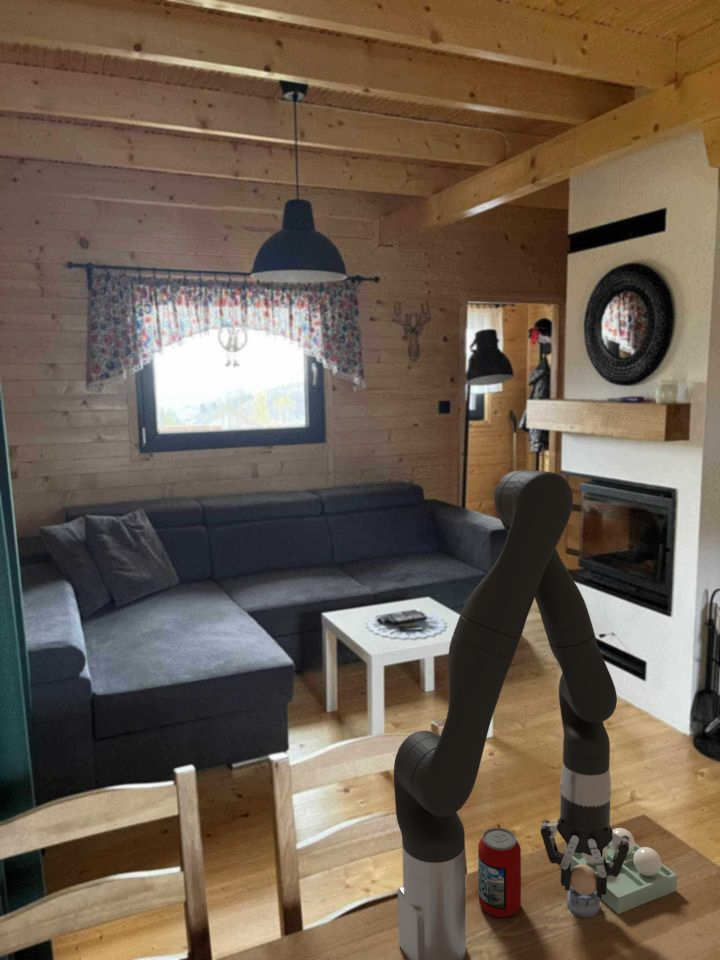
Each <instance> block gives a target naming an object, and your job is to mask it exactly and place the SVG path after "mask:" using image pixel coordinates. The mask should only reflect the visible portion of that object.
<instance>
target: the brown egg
mask: <svg viewBox="0 0 720 960" xmlns="http://www.w3.org/2000/svg"><path fill="white" fill-rule="evenodd" d="M570 883H571V885H570V887H572V888H573V889H574V890H575V891H576V892H577V893H579V894H581V895H591V894H592V893H594V892H595V891H596V889H597V874H596V873H595V871H594V870H593V869H592V868H591V867H589V866H588V865H584V864H579V865H576V866H575V867H574V868H573V869H572V870H571V872H570Z"/></svg>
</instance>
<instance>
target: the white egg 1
mask: <svg viewBox="0 0 720 960" xmlns="http://www.w3.org/2000/svg"><path fill="white" fill-rule="evenodd" d="M581 854H582V856H583V858H584V860H585V861H586V862H587V863H589V864H591V865H594V866H596V865H595V863H594V860H593V857H592V856H590V855H587V854H585V853H581ZM604 855H605V859H607V856H608V851H607V847H605V848H604Z"/></svg>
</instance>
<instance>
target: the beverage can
mask: <svg viewBox="0 0 720 960" xmlns="http://www.w3.org/2000/svg"><path fill="white" fill-rule="evenodd" d="M477 847H478V851H477V852H478V853H477V854H478V855H477V858H478V859H477V861H478V866H477V867H478V868H477V869H478V871H477V873H478V876H477V877H478V902H479V906H480V907H481V908H482V909H483V910H484V911H485V912H486V913H488V914H490V915H493V916H495V917H501V918H503V917H508V916H512V915H514V914H516V913H517V912H518V911H519V910H520V909H521V903H522V902H521V901H522V900H521V899H522V896H521V895H522V894H521V893H522V874H521V873H522V855H521V854H522V851H521V845H520V843H519V842H518V840H517V836H516V835H515V834H514V833H513V831H510V829H507V828H502V827H492V828H488V829H487V830H485V831H484V832H483V833H482V837H481V838H480V840H479V842H478V845H477Z"/></svg>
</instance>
